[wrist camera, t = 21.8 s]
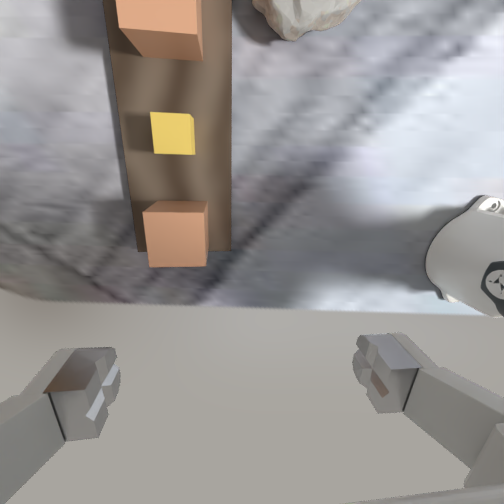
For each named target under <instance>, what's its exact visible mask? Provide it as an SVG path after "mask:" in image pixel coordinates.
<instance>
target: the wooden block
mask: <svg viewBox="0 0 504 504" xmlns="http://www.w3.org/2000/svg"><path fill="white" fill-rule="evenodd" d="M143 220H144V228H145V236H146V244H147V252H148V260H149V267H199V266H206V262H207V255H208V248H209V236H208V204H207V201H157V202H155V203H154V204H153V205H151V206H150V207H149V208H147V209H146V210H145V211H143Z"/></svg>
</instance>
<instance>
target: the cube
mask: <svg viewBox="0 0 504 504" xmlns="http://www.w3.org/2000/svg"><path fill="white" fill-rule="evenodd" d="M150 116H151V126H152V136H153V146H154V154H184V155H195V136H194V118H193V117H192V116H191V115H190V114H181V113H161V112H150Z"/></svg>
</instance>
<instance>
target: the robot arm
mask: <svg viewBox="0 0 504 504" xmlns="http://www.w3.org/2000/svg"><path fill="white" fill-rule="evenodd" d="M426 272H427V275H428V277H429V279H430V280H431V282H432V283H433V284H434V285H436V286H437V287H438V288H439V289H440V290H441V293H442V296H443V298H444V299H445V300H446V301H448V302H451V303H454V302H459V301H460V302H462V303H464V304H466V305H468V306H470V307H472V308H474V309H475V310H477V311H479V312H481V313H483V314H485V315H487V316H489V317H492V318H497V317H504V200H503V199H499V198H495V197H491V196H487V195H486V196H482V197H481V198H479V199H478V200H477V201H476V202H475V203H474V204H473V205H472V206H471V207H470V209H469V210H467V211H466V212H465V213H463V214H461V215H460V216H458V217H456V218H455V219H453V220H452V221H450V222H449V223H448V224H447V225H446V226H444V227H443V228H442V230H441V231H440V232H439V233H438V234H437V236H436V237H435V238H434V240H433V242H432V243H431V245H430V248H429V250H428V253H427V257H426ZM356 345H357V346H358V348H359V350H358V351H357V352H356V353H355V354H354V357H353V362H352V363H353V370H354V373H355V375H356V378H357V380H358V381H359V383H360V384H362V385H363V386H365V387H366V388H367V394H366V395H367V396H368V398H369V400H370V401H371V403H372V405H373V406H374V408H375V410H376V411H377V413H397V412H404V413H403V414H404V415H406V416H407V417H408V418H409V419H410V420H412V421H413V422H414V423H415V424H417V425H418V426H419V427H420V428H421V429H423V430H424V431H425V432H426V433H428V434H429V435H430V436H431V437H432V438H434V439H435V440H436V441H437V442H438V443H440V444H441V445H442V446H443V447H444V448H446V449H447V450H448V451H449V452H451V453H452V454H453V455H454V456H456V457H457V458H458V459H459V460H460V461H462V462H463V463H464V464H465V465H466V466H468V467H469V468H470V469H471V470H470V471H469V473H468V475H467V477H466V479H465V481H464V487H465V488H462V489H454V490H447V491H438V492H431V493H423V494H415V495H407V496H400V497H391V498H384V499H376V500H368V501H360V502H353V503H345V504H504V397H502V396H500V395H498V394H496V393H494V392H492V391H490V390H488V389H486V388H484V387H482V386H480V385H478V384H476V383H474V382H472V381H470V380H468V379H466V378H464V377H462V376H460V375H458V374H456V373H454V372H452V371H450V370H448V369H446V368H444V367H438V366H437V365H436V364H435V363H434V362H433V361H432V360H431V359H430V358H429V357H428V356H427V355H426V354H425V353H424V352H423V351H422V350H421V349H420V348H419V347H418V346H417V345H416V344H415V343H414V342H413V341H412V340H411V339H410V338H409V337H408V336H407V335H405V334H404V333H401V332H399V333H387V334H370V335H360V336H359V337H358V339H357V343H356ZM116 358H117V355H116V351H115V349H114V348H112V347H103V348H102V347H100V348H99V347H98V348H74V349H60V350H58V351H56V352H55V353H54V354H53V356H52V357H51V358H50V359H49V360H48V362H47V363H46V364H45V365H44V366H43V368H42V369H41V370H40V371H39V372H38V374H37V375H36V376H35V377H34V378H33V379H32V381H31V382H30V383H29V384H28V386H26V388H25V389H24V390H23V391H22V392H21V394H20V395H16V396H12V397H10V398H8V399H7V400H5V401H3V402H2V403H0V504H5V503H6V502H7V501H8V500H9V499H10V498H11V497H12V496H13V495H14V494H15V493H16V492H17V491H18V490H19V489H20V488H21V487H22V486H23V485H24V484H25V483H26V482H27V481H28V480H29V479H30V478H31V477H32V476H33V475H34V474H35V473H36V472H37V471H38V470H39V469H40V468H41V467H42V466H43V465H44V464H45V463H46V462H47V461H48V460H49V459H50V458H51V457H52V456H53V455H54V454H55V453H56V452H57V451H58V450H59V449H60V448H61V447H62V446H63V445H64V444H65V442H66V441H75V440H83V439H92V438H98V437H99V435H100V433H101V431H102V428H103V426H104V424H105V422H106V419H107V417H108V410H107V407H108V406H109V405H110V404H111V403H112V402H114V401H115V398H116V396H117V394H118V391H119V386H120V369H119V367H118V366H116V365H115V364H114V362H115V360H116Z"/></svg>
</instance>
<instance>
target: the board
mask: <svg viewBox="0 0 504 504" xmlns="http://www.w3.org/2000/svg"><path fill="white" fill-rule="evenodd" d="M103 6H104V13H105V20H106V27H107V35H108V42H109V49H110V56H111V63H112V70H113V77H114V84H115V91H116V99H117V106H118V113H119V120H120V127H121V134H122V141H123V148H124V155H125V163H126V170H127V177H128V184H129V191H130V198H131V205H132V212H133V219H134V227H135V234H136V241H137V248H138V252H147V244H146V236H145V228H144V220H143V211H145V210H146V209H147V208H149V207H150V206H151V205H153V204H154V203H155V202H157V201H207V204H208V236H209V248H208V251H231V104H232V0H201V15H202V46H203V61H191V60H178V59H164V58H151V57H143V56H142V55H141V54H140V52H139V51H138V50H137V49H136V47H135V46H134V45H133V44H132V43H131V41H130V40H129V39H128V38H127V37H126V35H125V34H124V33H123V32H122V31H121V29H120V28H119V23H118V15H117V7H116V0H103ZM150 112H161V113H181V114H190V115H191V116H192V117H193V118H194V136H195V155H184V154H154V146H153V136H152V126H151V116H150Z"/></svg>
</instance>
